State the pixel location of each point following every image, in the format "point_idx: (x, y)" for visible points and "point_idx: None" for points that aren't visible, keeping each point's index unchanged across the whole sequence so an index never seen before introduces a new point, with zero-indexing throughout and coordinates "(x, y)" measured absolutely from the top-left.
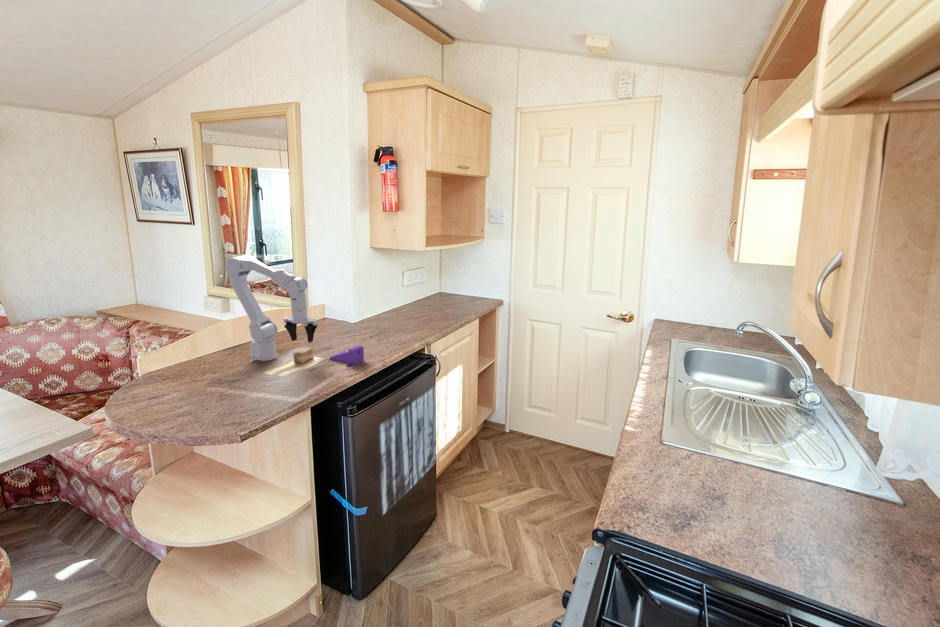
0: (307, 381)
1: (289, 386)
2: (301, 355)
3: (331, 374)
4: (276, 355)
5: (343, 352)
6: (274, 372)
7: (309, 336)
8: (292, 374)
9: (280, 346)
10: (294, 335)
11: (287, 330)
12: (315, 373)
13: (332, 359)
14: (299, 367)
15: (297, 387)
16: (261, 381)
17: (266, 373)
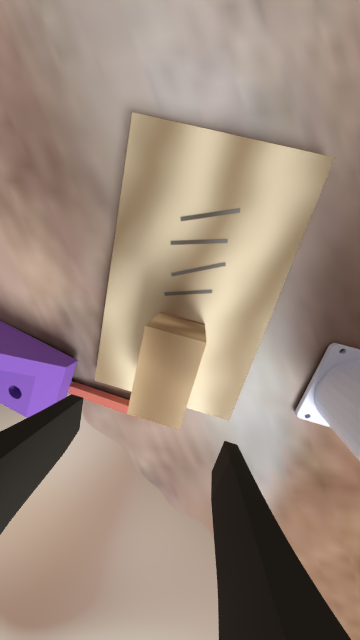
0: (66, 115)
1: (120, 22)
2: (152, 322)
3: (10, 219)
4: (323, 411)
5: (22, 403)
6: (260, 183)
7: (4, 430)
8: (151, 156)
9: (339, 532)
10: (224, 512)
11: (343, 631)
12: (78, 229)
13: (57, 357)
14: (157, 264)
15: (74, 11)
16: (302, 88)
17: (303, 163)
